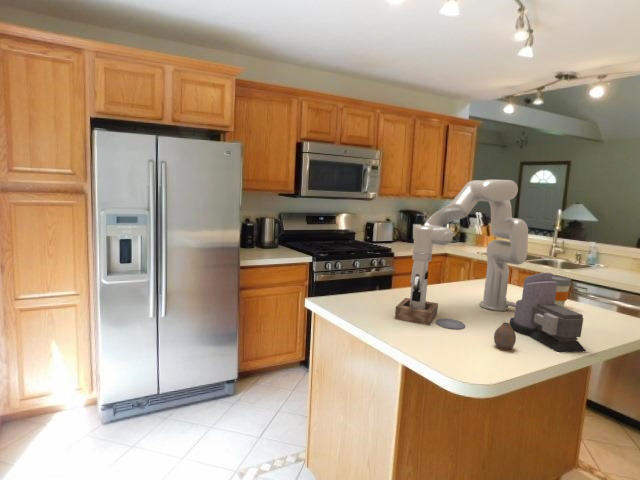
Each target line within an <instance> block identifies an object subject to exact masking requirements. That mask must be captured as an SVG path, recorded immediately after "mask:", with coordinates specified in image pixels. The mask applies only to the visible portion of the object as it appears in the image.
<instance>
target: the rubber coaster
mask: <svg viewBox="0 0 640 480" xmlns="http://www.w3.org/2000/svg"><path fill="white" fill-rule="evenodd" d="M435 324H436V325H437V326H439V327H440V328H444V329H448V330H456V331H457V330H459V331H460V330H463V329H465V327H466V324H465V323H464V322H463V321H459V320H457V319H454V318H453V319H452V318H438V319H436V321H435Z"/></svg>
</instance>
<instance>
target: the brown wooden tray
mask: <svg viewBox="0 0 640 480" xmlns="http://www.w3.org/2000/svg"><path fill="white" fill-rule="evenodd" d="M438 307H439V303H438V302H433V301H427V300H426V303H425V310H423V309H417V308H412V307H410V298H409V297H404V299H403V300H401V301H400V303H398V304H397V305H396V306H395V310H394V311H395V313H394V319H395V320H400V321H406V322H410V323H415V324H421V325H427V326H430V325H431V324H432V323H433V321H434V319H435V318H436V317H437V315H438Z"/></svg>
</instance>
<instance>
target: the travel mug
mask: <svg viewBox="0 0 640 480" xmlns="http://www.w3.org/2000/svg"><path fill="white" fill-rule="evenodd" d="M428 276H429V271H427V273H425V279H424V283H423V285H421V289H420V292H421V296H420V302H417V301H412V294H413V287H414V283H413V284H410V285H411V287H410V307H412V308H417V309H423V310H425V303H426V301H427V291H428V279H429V278H428ZM414 281H415V280H414ZM418 284H420V283H419V282H418ZM418 287H419V286H418Z"/></svg>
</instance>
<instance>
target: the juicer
mask: <svg viewBox="0 0 640 480" xmlns="http://www.w3.org/2000/svg"><path fill="white" fill-rule="evenodd" d="M553 275H554V274H553V273H551V272H541V273H536V274H532V275H528V276H527V277H525V278H524V280H523V287H522V296H521V298H520V299H517V301H515V303H516V307H514V317H511V318H510V319H509V323H510V325H511V327H512V329H513V330H514V332H515V333H517V334H519V335H522V336H527V337H528V338H531V339H532V340H534V341H536V342H538V343H539V344H541V345H543V346H545V347H547V348H549V349H551V350H552V349H553V351H554V352H557V353H558V352H559V353H577V352H578V353H581V352H582V353H584V352H585V351H587V350H586V349H585V348H584V346H582V344H581V343H580V342H579V341H578V338H581V337H582V336H581V335H582V330H583V324H584V315H583V314H581V313H579V312H577V311H575V310H572V309H569V308H566V307H562V306H559V305H557V304H554V303H555V296H556V289H557V283H556V282H554V281H552V277H553ZM583 351H584V352H583Z"/></svg>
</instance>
